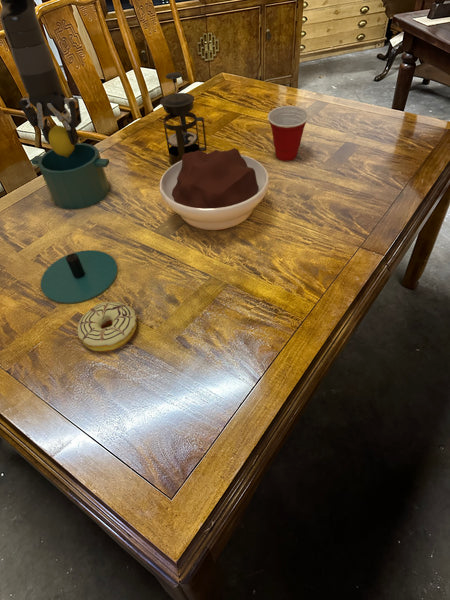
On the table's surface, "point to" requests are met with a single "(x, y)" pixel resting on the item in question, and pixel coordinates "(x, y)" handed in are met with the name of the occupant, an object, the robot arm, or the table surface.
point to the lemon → (60, 141)
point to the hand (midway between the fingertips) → (63, 142)
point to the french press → (180, 108)
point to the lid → (79, 277)
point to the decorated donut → (109, 337)
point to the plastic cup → (287, 130)
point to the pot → (74, 176)
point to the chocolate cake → (214, 188)
